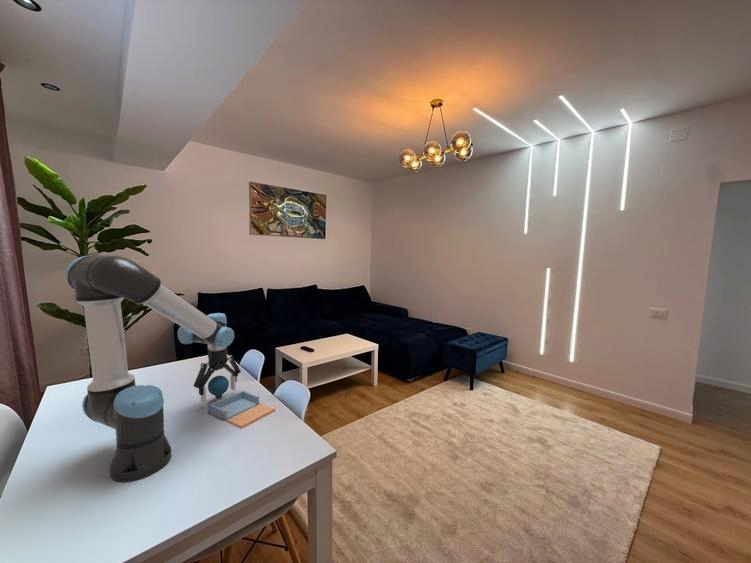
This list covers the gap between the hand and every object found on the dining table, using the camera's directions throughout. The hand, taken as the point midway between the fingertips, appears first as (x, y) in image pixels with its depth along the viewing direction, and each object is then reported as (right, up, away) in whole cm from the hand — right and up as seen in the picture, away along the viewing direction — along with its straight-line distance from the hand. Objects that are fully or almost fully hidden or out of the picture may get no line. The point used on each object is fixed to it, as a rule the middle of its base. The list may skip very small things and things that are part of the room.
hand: (219, 395), depth 134 cm
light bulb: (0, -3, 0) cm, 3 cm away
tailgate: (+15, -4, -9) cm, 18 cm away
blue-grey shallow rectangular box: (+10, -4, -6) cm, 12 cm away
